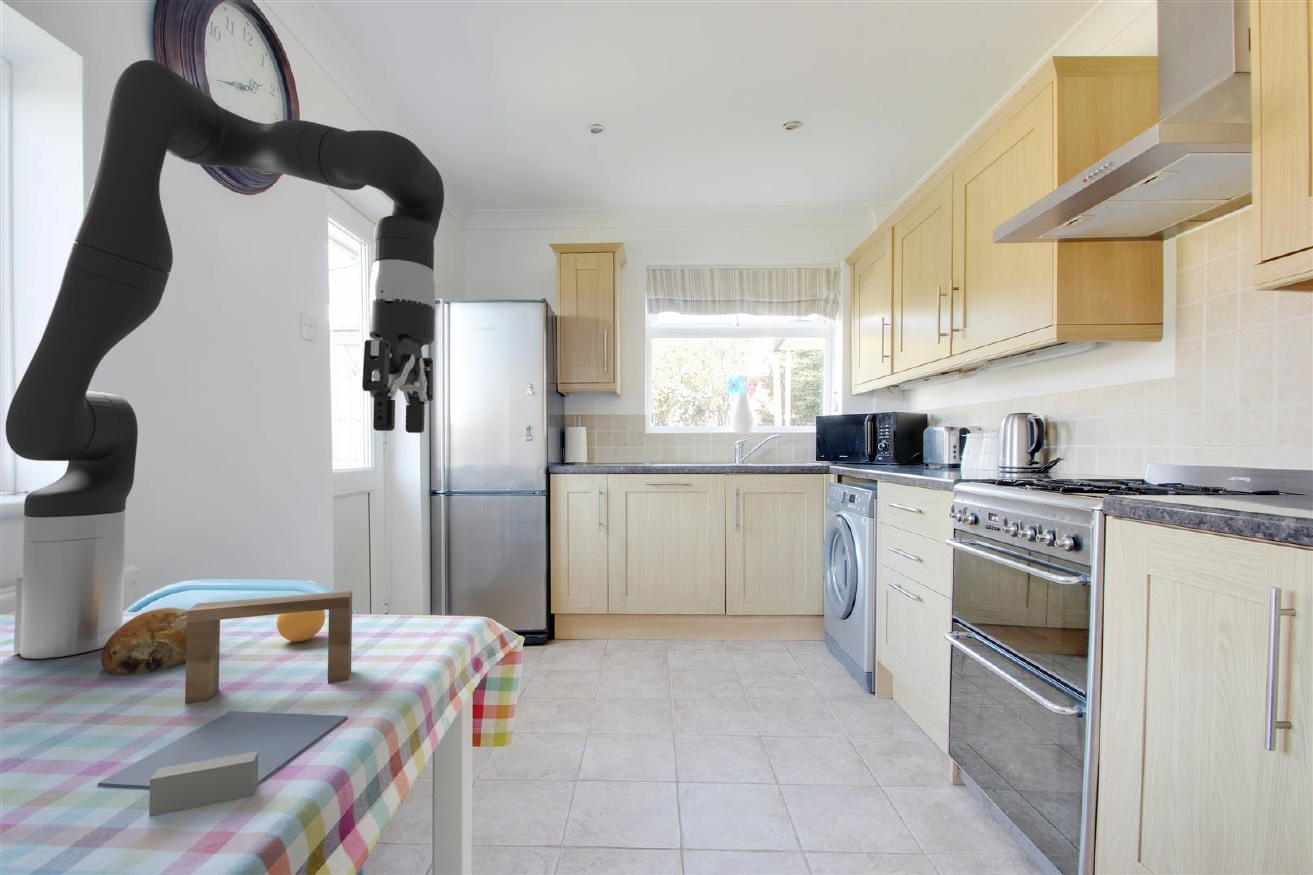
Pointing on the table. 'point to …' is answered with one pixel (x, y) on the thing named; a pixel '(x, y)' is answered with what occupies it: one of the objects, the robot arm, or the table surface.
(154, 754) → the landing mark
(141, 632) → the bread roll
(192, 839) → the table surface
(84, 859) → the table surface
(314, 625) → the ball
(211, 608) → the bridge
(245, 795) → the rail
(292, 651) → the table surface
